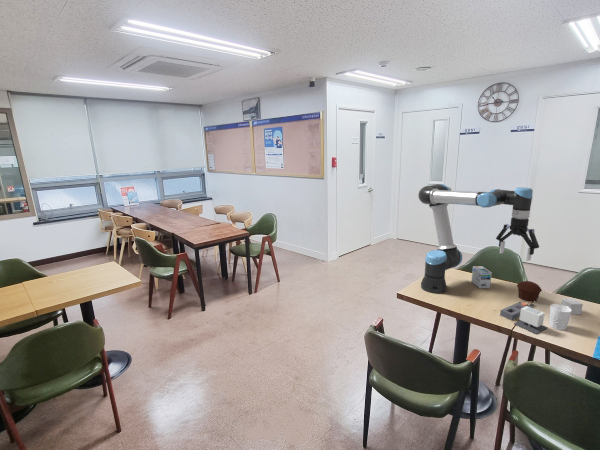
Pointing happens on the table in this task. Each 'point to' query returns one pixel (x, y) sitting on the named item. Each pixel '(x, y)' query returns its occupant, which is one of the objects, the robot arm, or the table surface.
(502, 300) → the table surface
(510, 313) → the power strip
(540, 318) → the block
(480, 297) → the table surface
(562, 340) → the table surface
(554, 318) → the white cup
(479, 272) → the light bulb box
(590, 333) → the table surface
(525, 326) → the mat
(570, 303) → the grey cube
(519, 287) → the muffin
